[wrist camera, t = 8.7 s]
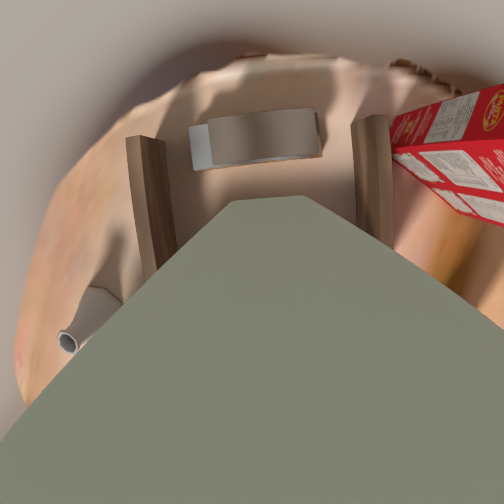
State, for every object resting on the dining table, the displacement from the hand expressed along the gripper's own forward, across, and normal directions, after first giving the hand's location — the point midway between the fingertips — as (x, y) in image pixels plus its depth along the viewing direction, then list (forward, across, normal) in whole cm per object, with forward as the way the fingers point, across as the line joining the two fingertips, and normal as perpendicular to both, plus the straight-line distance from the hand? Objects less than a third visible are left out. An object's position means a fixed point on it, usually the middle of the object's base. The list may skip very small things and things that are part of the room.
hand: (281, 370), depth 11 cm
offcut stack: (+27, +1, -11) cm, 29 cm away
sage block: (+5, 0, 0) cm, 5 cm away
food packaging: (+27, -22, -7) cm, 35 cm away
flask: (+27, +24, +9) cm, 37 cm away
